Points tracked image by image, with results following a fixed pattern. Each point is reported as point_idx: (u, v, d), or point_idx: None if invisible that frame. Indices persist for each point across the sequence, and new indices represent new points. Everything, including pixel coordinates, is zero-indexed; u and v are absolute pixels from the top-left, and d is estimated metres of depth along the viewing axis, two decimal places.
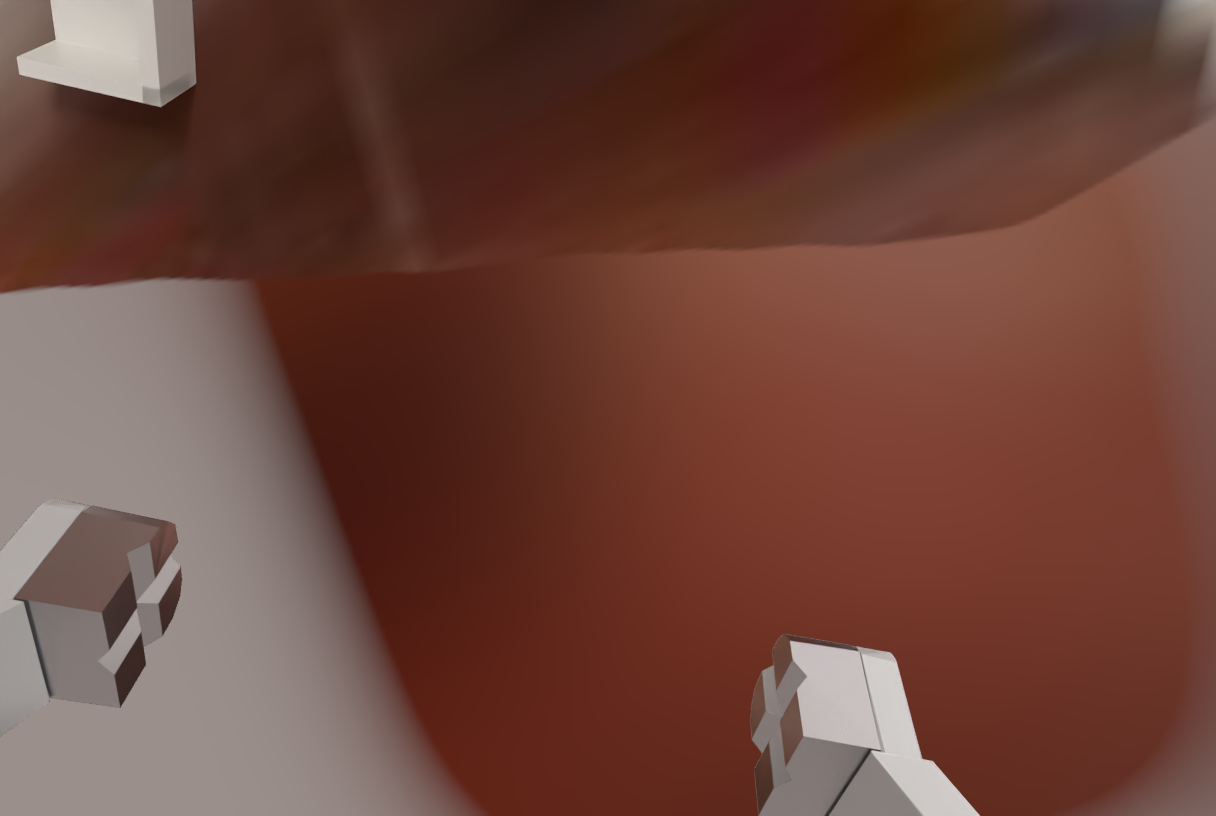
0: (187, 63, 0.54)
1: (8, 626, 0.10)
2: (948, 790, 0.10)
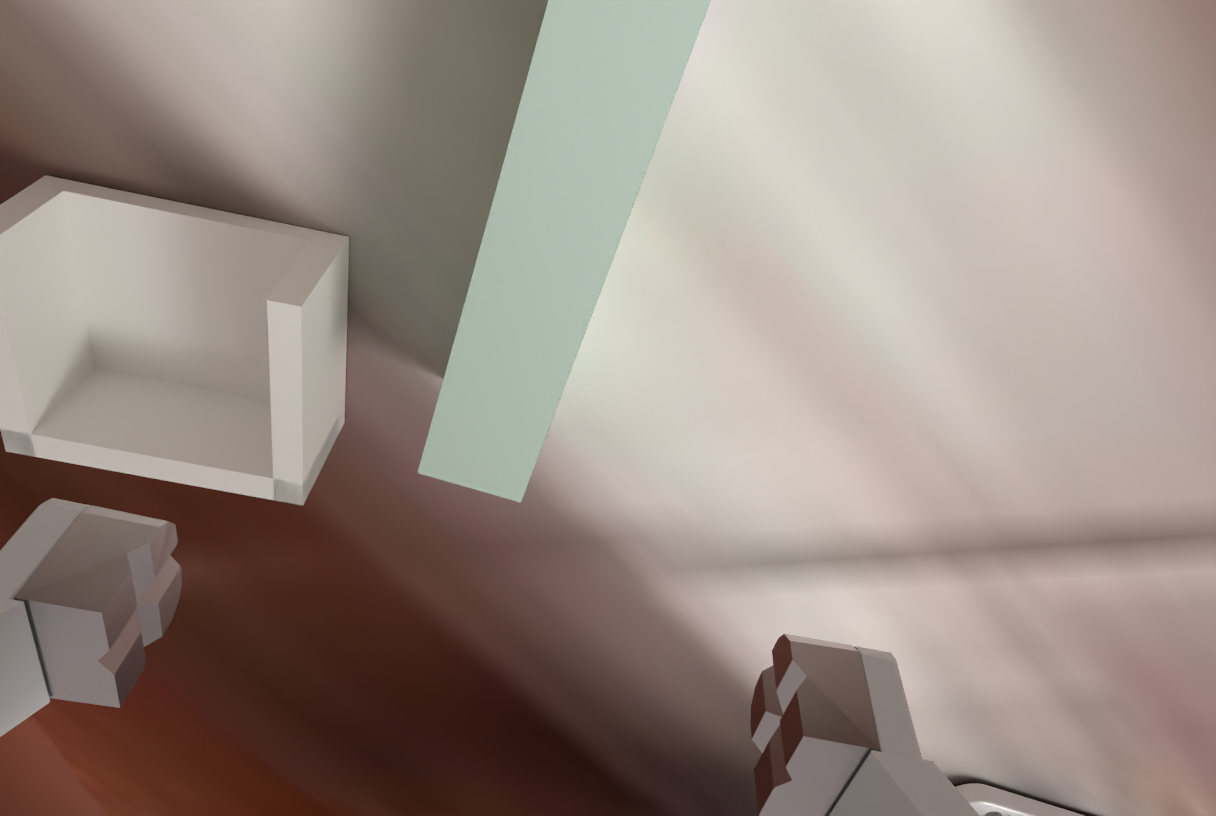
0: None
1: (8, 626, 0.10)
2: (948, 790, 0.10)
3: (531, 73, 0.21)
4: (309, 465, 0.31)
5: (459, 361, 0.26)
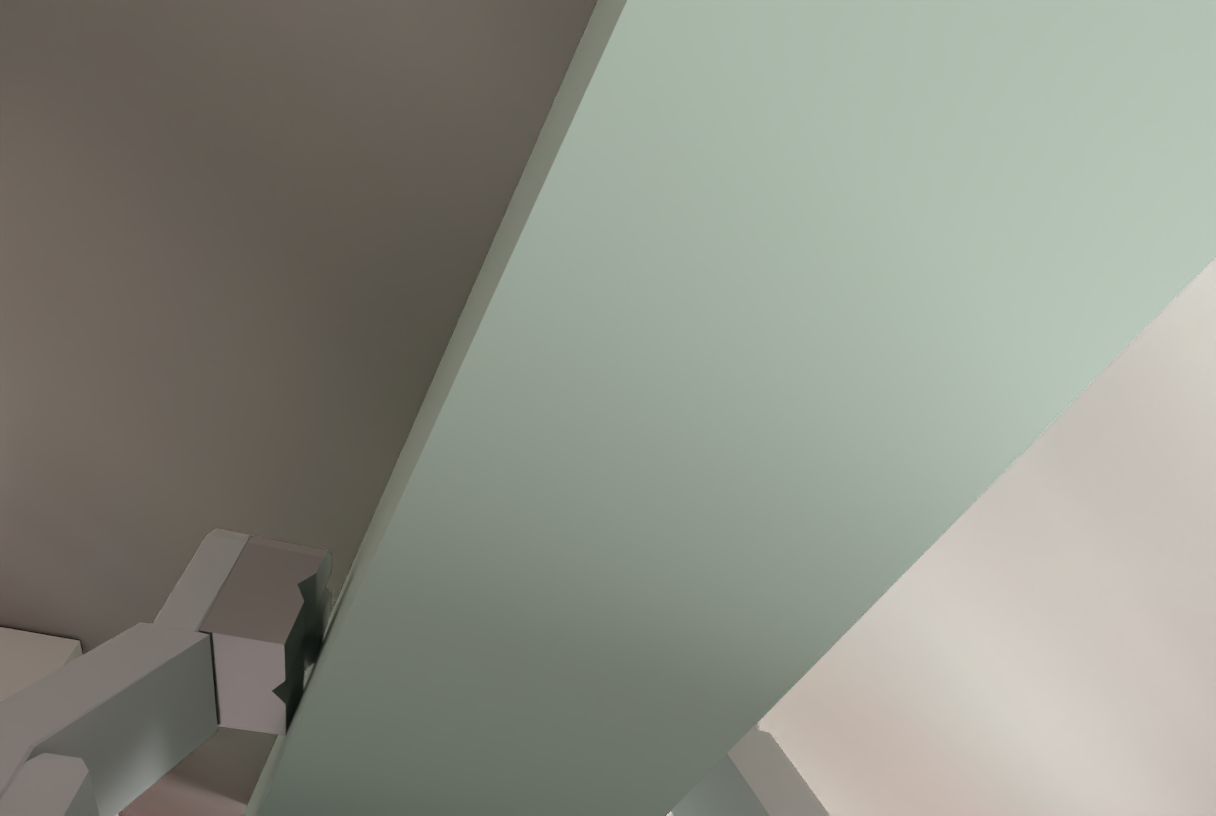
0: None
1: (194, 658, 0.10)
2: (779, 761, 0.10)
3: (344, 645, 0.07)
4: None
5: None
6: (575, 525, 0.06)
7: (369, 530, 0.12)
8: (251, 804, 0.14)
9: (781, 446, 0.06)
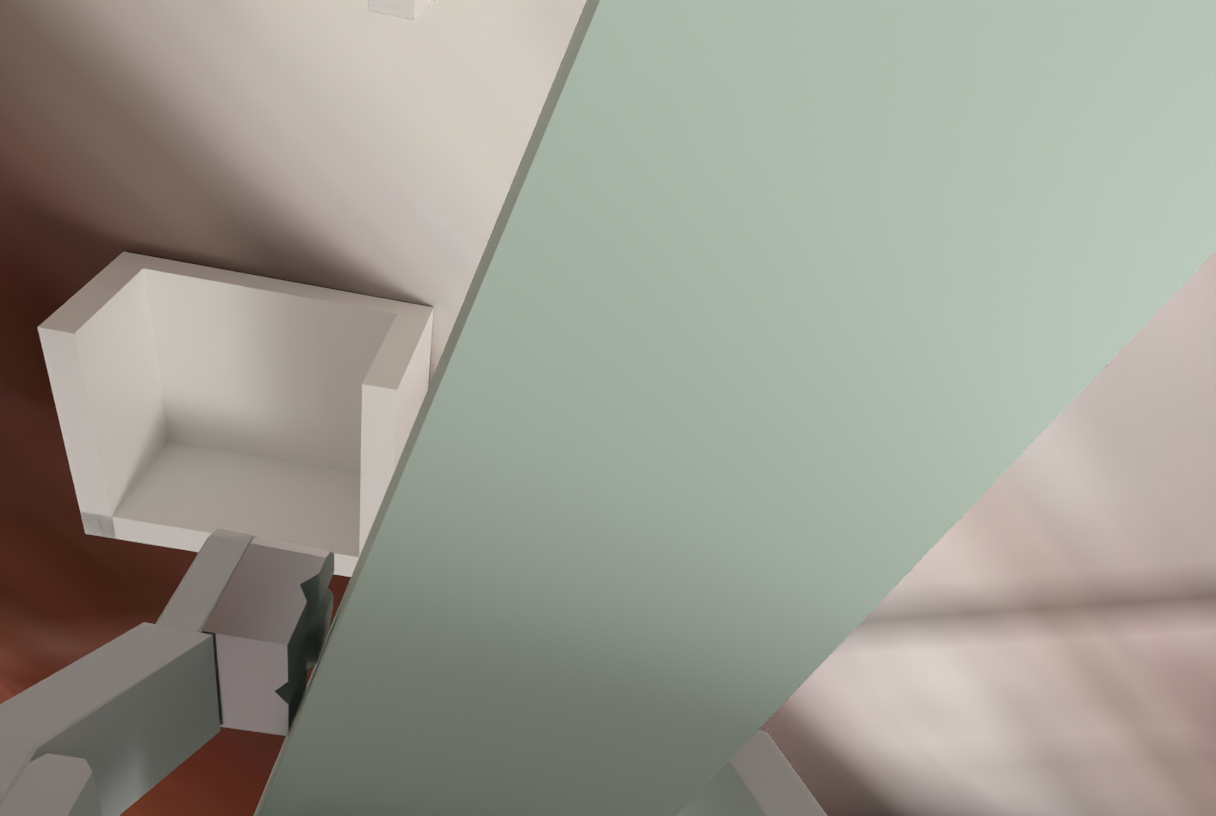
0: None
1: (197, 659, 0.10)
2: (776, 760, 0.10)
3: (336, 657, 0.07)
4: None
5: None
6: (568, 534, 0.06)
7: (368, 537, 0.12)
8: (255, 814, 0.14)
9: (774, 450, 0.06)
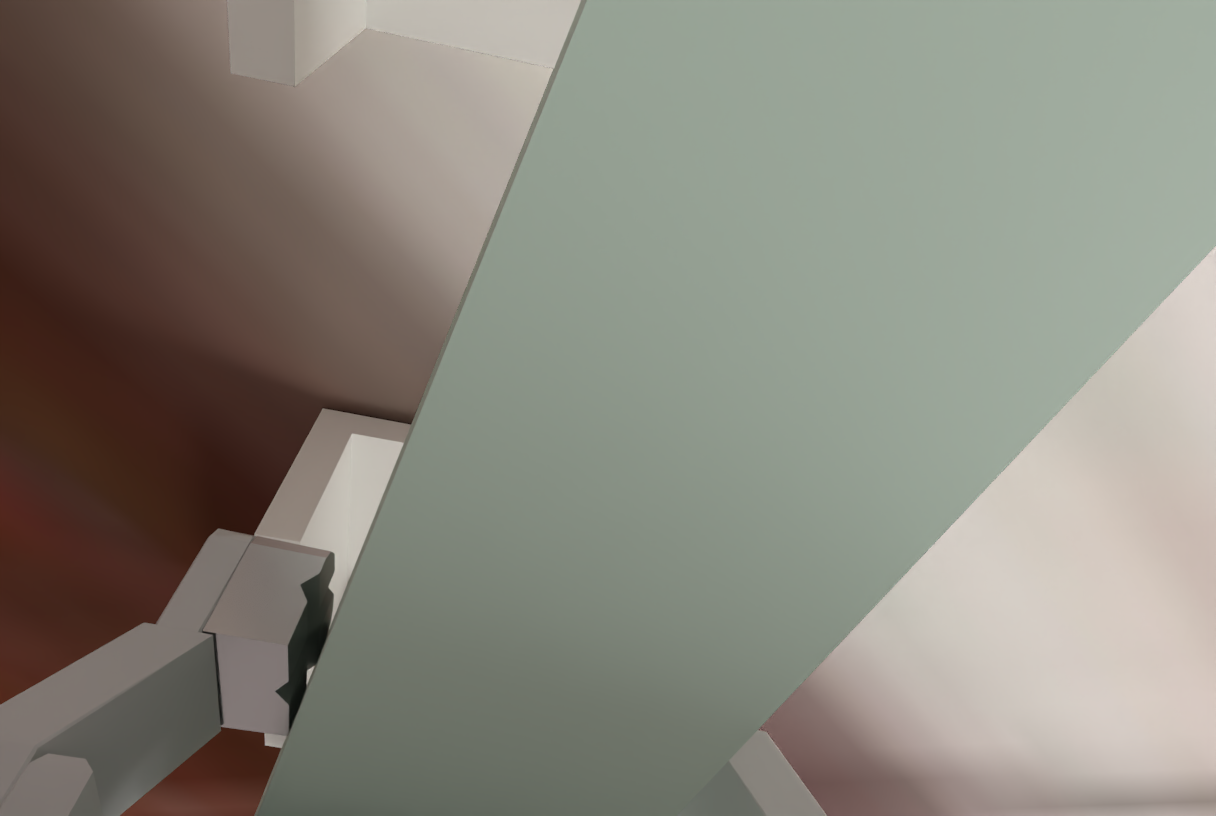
0: None
1: (198, 659, 0.10)
2: (776, 760, 0.10)
3: (330, 660, 0.07)
4: None
5: None
6: (561, 536, 0.06)
7: None
8: None
9: (770, 450, 0.06)
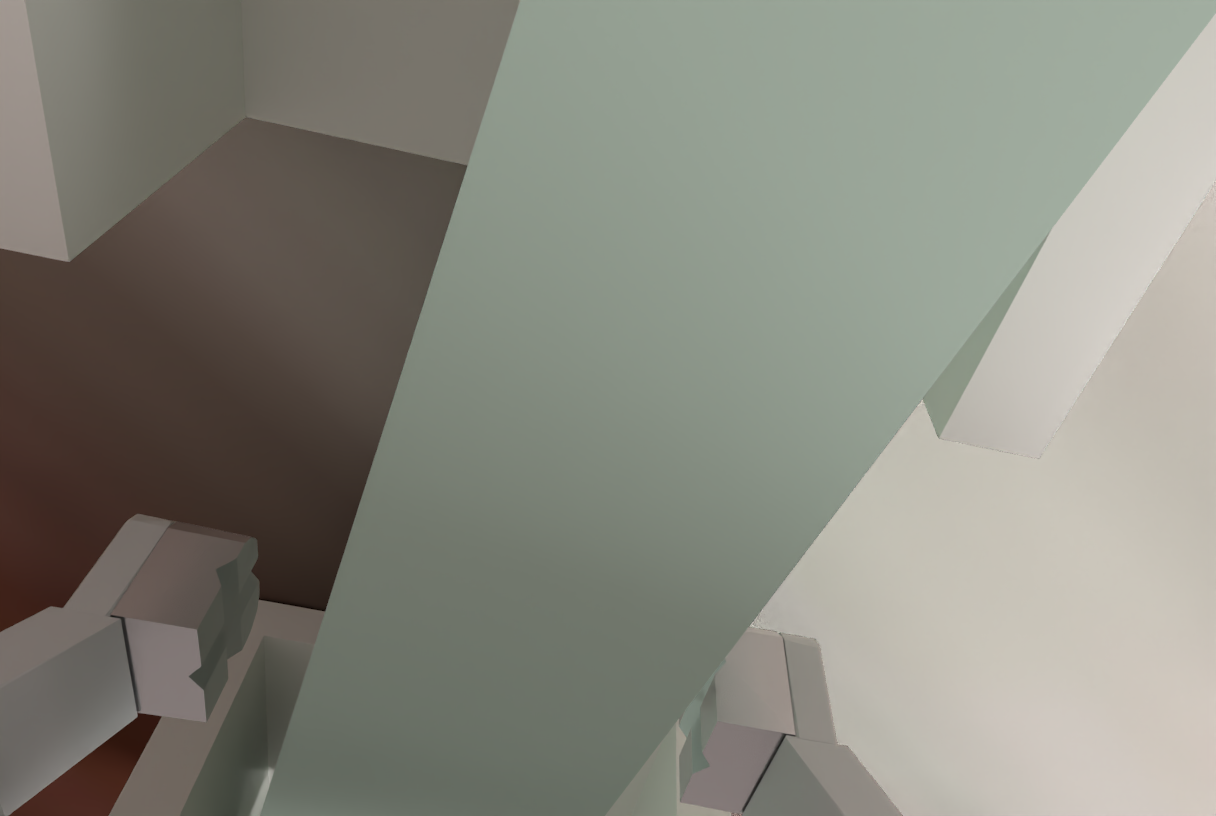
0: None
1: (105, 643, 0.10)
2: (861, 775, 0.10)
3: (348, 568, 0.08)
4: None
5: None
6: (556, 431, 0.07)
7: None
8: None
9: (741, 339, 0.06)
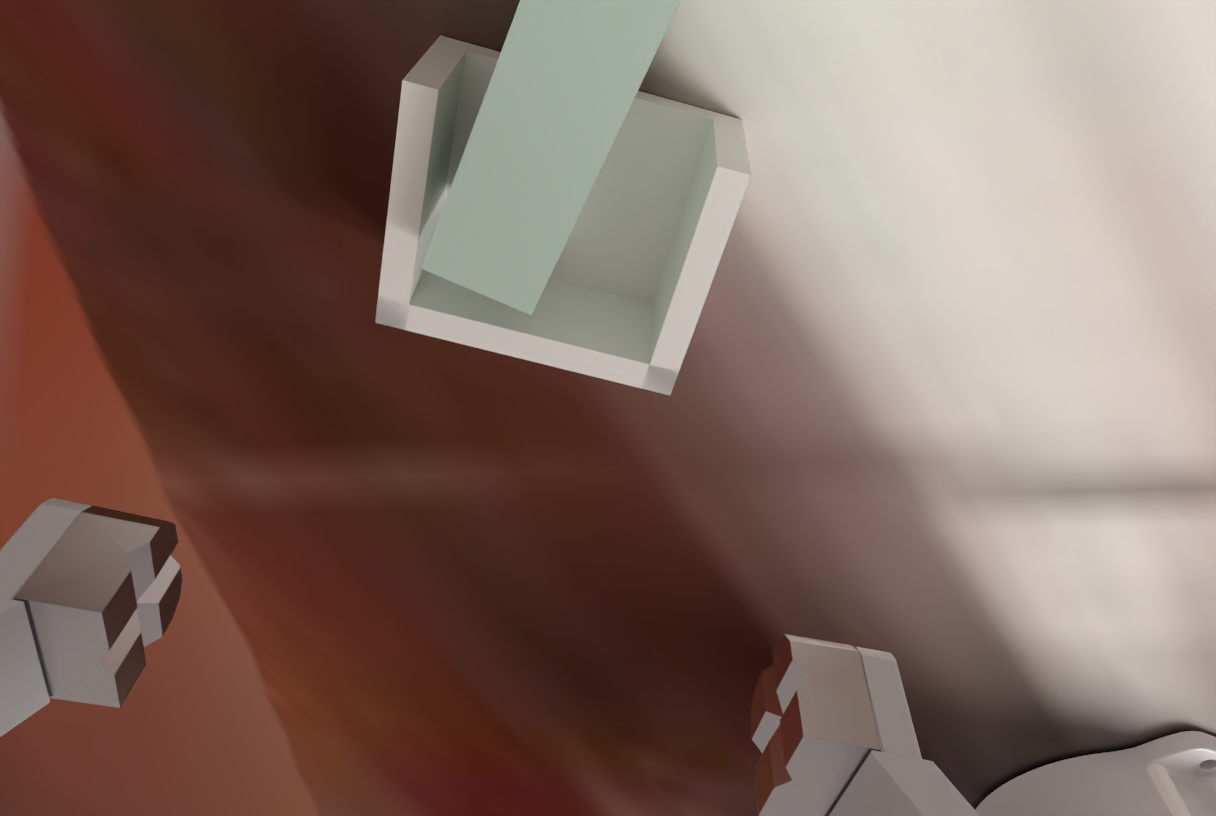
0: None
1: (8, 626, 0.10)
2: (948, 790, 0.10)
3: None
4: None
5: (485, 129, 0.24)
6: None
7: None
8: None
9: None
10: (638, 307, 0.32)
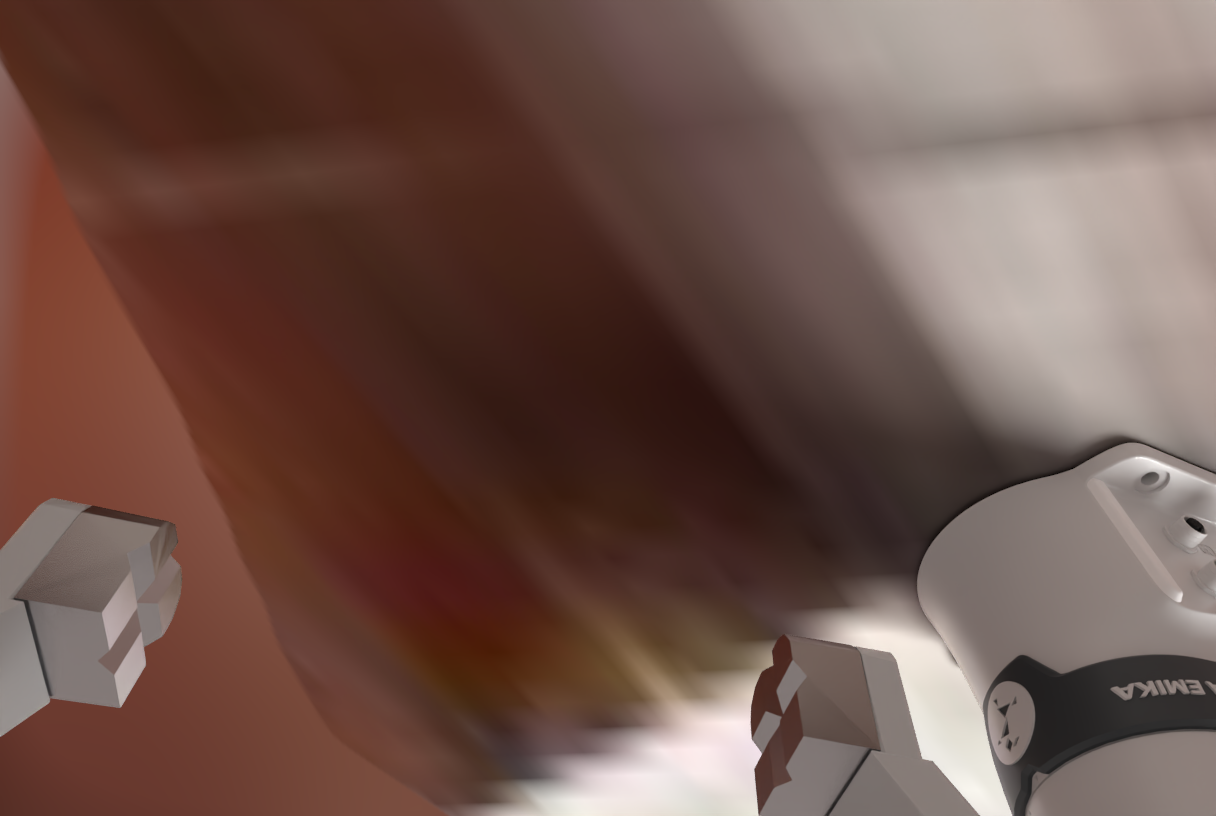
0: None
1: (8, 626, 0.10)
2: (948, 790, 0.10)
3: None
4: None
5: None
6: None
7: None
8: None
9: None
10: None
